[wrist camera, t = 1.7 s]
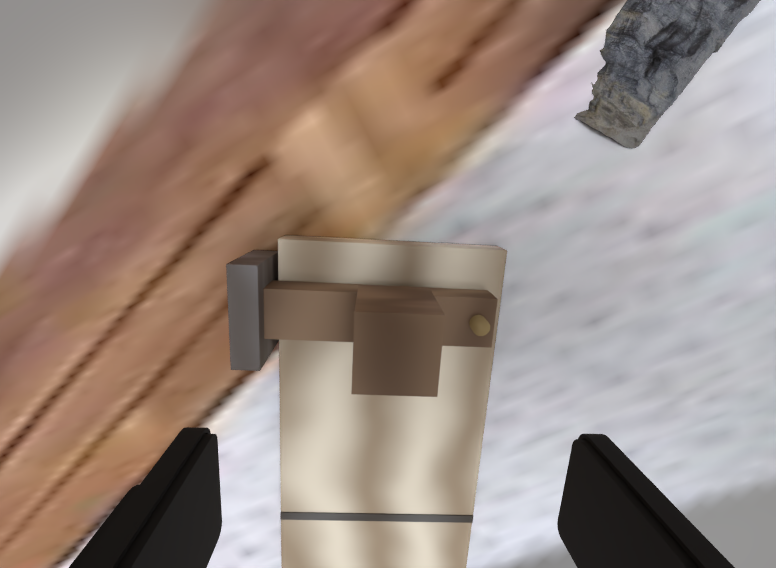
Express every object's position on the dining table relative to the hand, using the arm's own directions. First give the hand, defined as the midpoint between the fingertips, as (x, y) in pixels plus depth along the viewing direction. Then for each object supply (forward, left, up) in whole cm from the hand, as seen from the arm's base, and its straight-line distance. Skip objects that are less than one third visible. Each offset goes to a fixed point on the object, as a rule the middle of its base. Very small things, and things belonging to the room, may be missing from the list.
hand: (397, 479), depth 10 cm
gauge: (+1, 0, -16) cm, 17 cm away
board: (0, +9, -17) cm, 19 cm away
